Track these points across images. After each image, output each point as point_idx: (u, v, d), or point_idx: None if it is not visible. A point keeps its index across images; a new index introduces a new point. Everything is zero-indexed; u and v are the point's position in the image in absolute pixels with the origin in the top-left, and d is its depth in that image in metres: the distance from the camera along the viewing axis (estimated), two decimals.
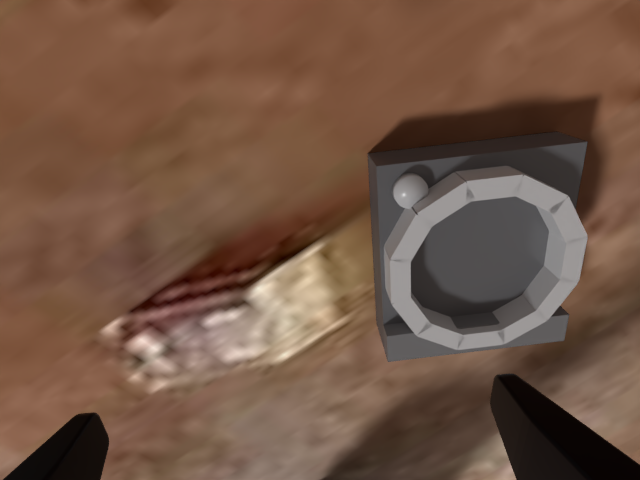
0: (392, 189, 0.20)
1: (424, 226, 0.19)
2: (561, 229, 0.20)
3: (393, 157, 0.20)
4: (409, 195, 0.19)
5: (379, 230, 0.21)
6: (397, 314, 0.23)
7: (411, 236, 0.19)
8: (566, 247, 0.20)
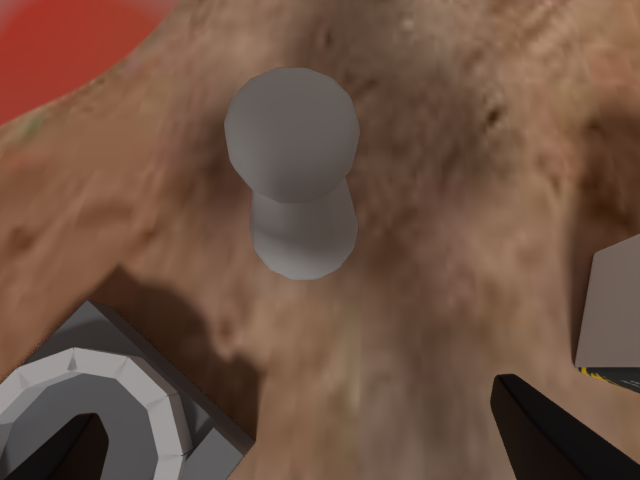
0: None
1: None
2: (97, 373, 0.19)
3: None
4: None
5: None
6: None
7: None
8: (119, 381, 0.18)
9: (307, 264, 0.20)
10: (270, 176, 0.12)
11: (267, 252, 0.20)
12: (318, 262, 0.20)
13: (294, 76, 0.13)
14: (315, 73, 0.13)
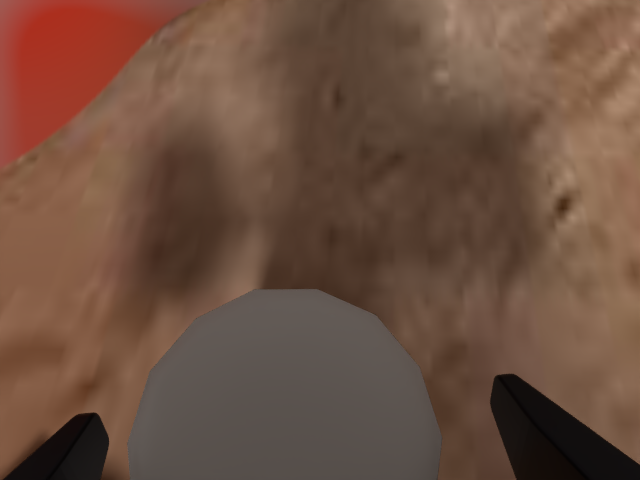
0: None
1: None
2: None
3: None
4: None
5: None
6: None
7: None
8: None
9: None
10: None
11: None
12: None
13: (292, 336, 0.05)
14: (340, 318, 0.06)
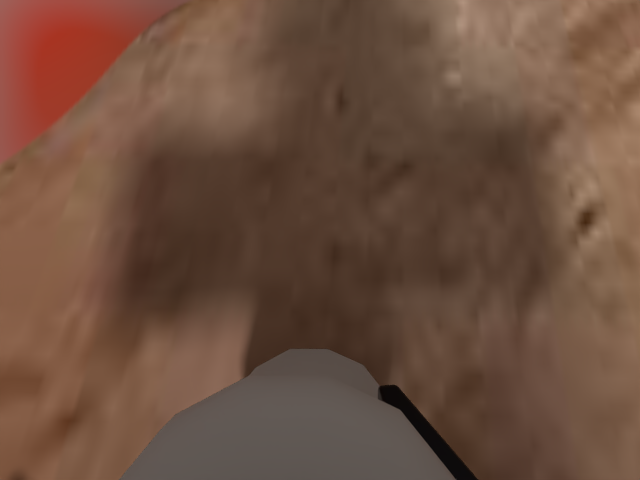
0: None
1: None
2: None
3: None
4: None
5: None
6: None
7: None
8: None
9: None
10: None
11: None
12: None
13: (291, 469, 0.04)
14: (357, 437, 0.04)
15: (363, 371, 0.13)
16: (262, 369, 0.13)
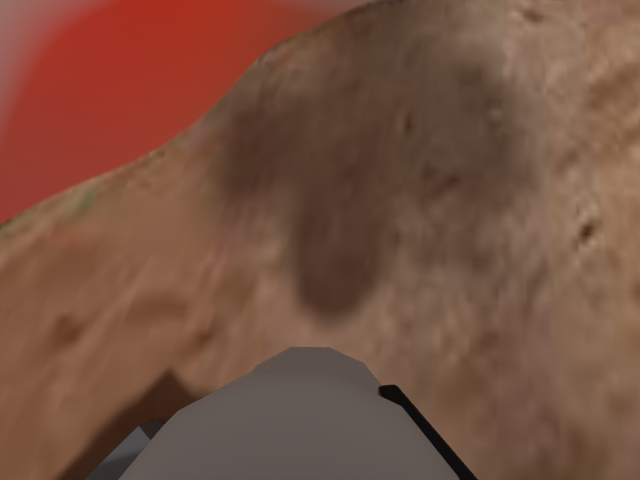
0: None
1: None
2: None
3: None
4: None
5: None
6: None
7: None
8: None
9: None
10: None
11: None
12: None
13: (293, 465, 0.04)
14: (360, 433, 0.04)
15: (364, 369, 0.13)
16: (263, 367, 0.13)
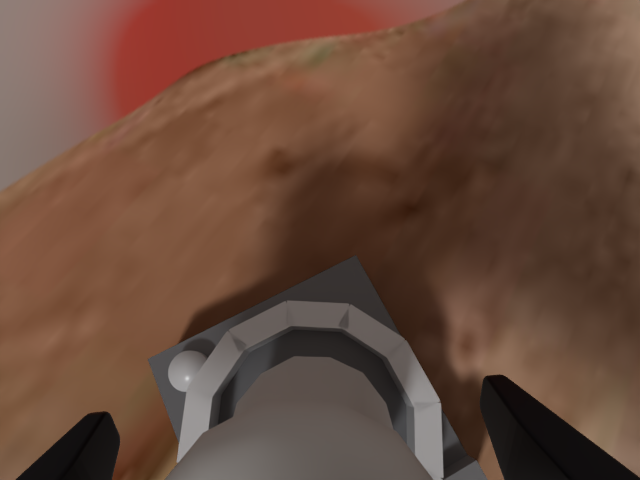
0: None
1: (203, 400, 0.16)
2: (368, 343, 0.16)
3: None
4: (186, 374, 0.17)
5: (177, 435, 0.17)
6: None
7: (192, 419, 0.15)
8: (390, 362, 0.16)
9: None
10: None
11: None
12: None
13: None
14: (361, 459, 0.05)
15: (363, 380, 0.14)
16: (268, 376, 0.14)
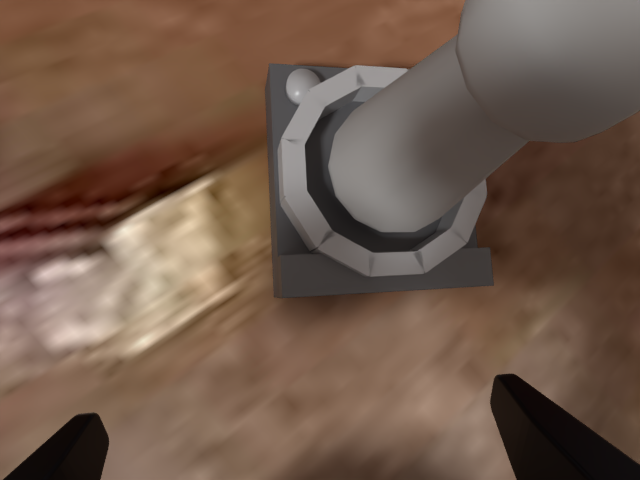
0: (285, 86, 0.19)
1: (317, 105, 0.18)
2: None
3: None
4: (302, 87, 0.19)
5: (272, 132, 0.19)
6: (295, 243, 0.19)
7: (304, 114, 0.18)
8: None
9: (396, 212, 0.15)
10: (548, 73, 0.07)
11: (356, 175, 0.15)
12: (409, 216, 0.15)
13: None
14: None
15: None
16: None
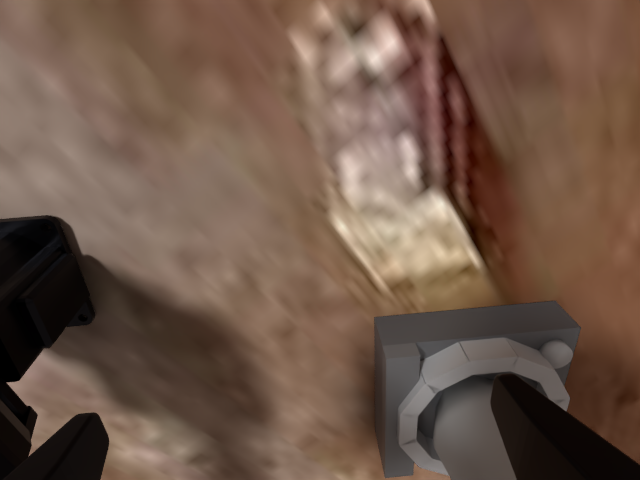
0: (558, 340, 0.23)
1: (541, 377, 0.22)
2: None
3: None
4: (556, 356, 0.23)
5: (520, 332, 0.23)
6: (425, 353, 0.23)
7: (535, 369, 0.22)
8: None
9: (457, 460, 0.21)
10: None
11: (489, 437, 0.20)
12: (454, 467, 0.21)
13: None
14: None
15: None
16: None
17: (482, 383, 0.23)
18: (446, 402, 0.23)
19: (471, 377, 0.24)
